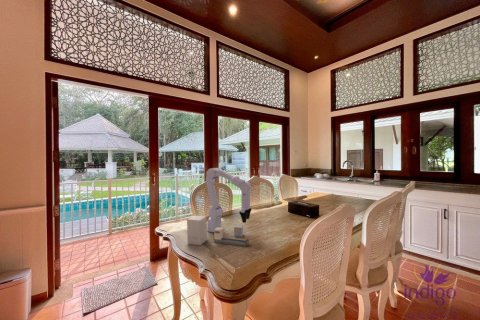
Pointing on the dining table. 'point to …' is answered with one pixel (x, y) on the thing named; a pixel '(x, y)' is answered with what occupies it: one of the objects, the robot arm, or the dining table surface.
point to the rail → (233, 241)
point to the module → (238, 230)
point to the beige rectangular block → (218, 233)
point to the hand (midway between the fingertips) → (245, 220)
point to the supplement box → (197, 230)
